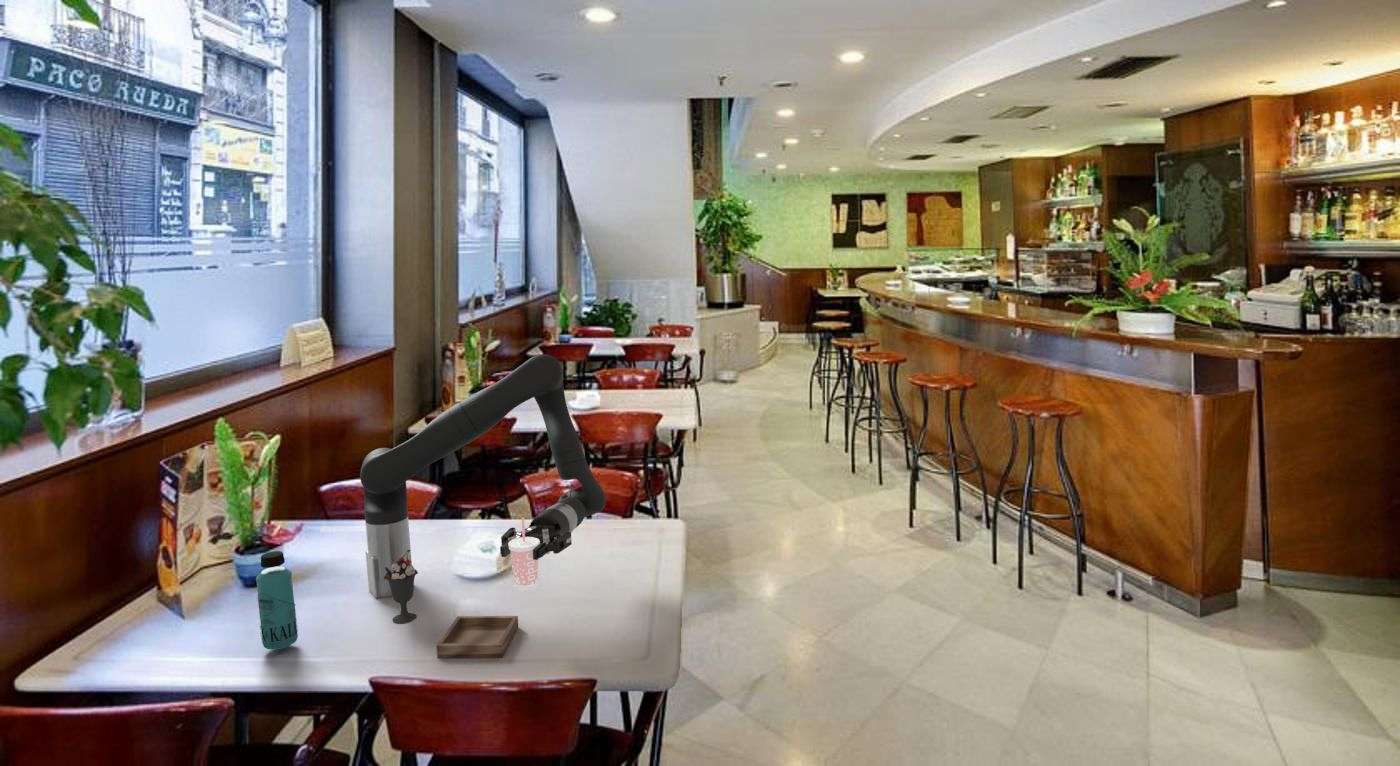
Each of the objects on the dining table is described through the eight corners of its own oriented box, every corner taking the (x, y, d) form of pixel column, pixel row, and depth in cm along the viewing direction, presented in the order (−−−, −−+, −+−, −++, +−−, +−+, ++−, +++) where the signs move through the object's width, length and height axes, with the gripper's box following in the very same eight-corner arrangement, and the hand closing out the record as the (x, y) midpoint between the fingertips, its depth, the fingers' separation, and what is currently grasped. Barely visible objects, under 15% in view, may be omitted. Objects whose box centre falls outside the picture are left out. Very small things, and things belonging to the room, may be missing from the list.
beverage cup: (514, 594, 153) (511, 524, 151) (507, 582, 159) (503, 515, 156) (545, 587, 156) (542, 519, 154) (537, 576, 161) (533, 510, 159)
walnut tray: (437, 658, 153) (436, 645, 153) (458, 628, 166) (457, 616, 165) (502, 657, 153) (501, 645, 153) (518, 627, 165) (517, 615, 165)
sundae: (427, 613, 173) (422, 547, 170) (407, 627, 166) (401, 559, 164) (402, 609, 175) (397, 544, 173) (381, 623, 169) (375, 555, 166)
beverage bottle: (271, 642, 161) (261, 548, 158) (305, 640, 161) (295, 546, 158) (256, 658, 154) (245, 560, 151) (292, 656, 155) (281, 558, 152)
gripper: (522, 506, 171) (483, 532, 155) (585, 510, 168) (552, 538, 152) (524, 539, 172) (485, 569, 156) (586, 544, 169) (553, 575, 153)
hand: (518, 553), depth 154 cm, fingers closed on beverage cup, 6 cm apart
